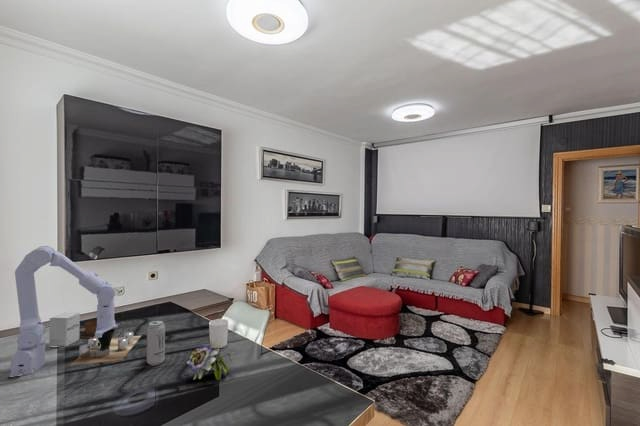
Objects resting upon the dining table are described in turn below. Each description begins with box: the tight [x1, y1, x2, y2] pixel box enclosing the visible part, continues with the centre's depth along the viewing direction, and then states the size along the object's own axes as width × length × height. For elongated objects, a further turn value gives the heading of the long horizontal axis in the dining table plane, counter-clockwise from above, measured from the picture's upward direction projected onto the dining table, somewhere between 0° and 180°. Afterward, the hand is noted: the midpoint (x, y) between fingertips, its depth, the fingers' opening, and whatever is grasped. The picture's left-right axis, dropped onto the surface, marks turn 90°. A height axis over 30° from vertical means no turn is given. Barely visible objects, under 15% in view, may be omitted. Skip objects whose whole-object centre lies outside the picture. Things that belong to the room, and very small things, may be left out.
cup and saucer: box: [79, 319, 97, 339], centre depth 141 cm, size 12×12×6 cm
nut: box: [94, 346, 110, 358], centre depth 119 cm, size 5×4×2 cm
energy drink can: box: [146, 320, 166, 367], centre depth 115 cm, size 6×6×15 cm
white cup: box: [208, 318, 229, 349], centre depth 130 cm, size 8×8×10 cm
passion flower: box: [186, 341, 233, 382], centre depth 107 cm, size 13×12×14 cm
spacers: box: [79, 331, 134, 358], centre depth 127 cm, size 17×15×4 cm
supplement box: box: [48, 312, 81, 347], centre depth 131 cm, size 7×7×13 cm
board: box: [69, 335, 142, 366], centre depth 125 cm, size 24×17×1 cm
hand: (105, 348), depth 122 cm, fingers closed
